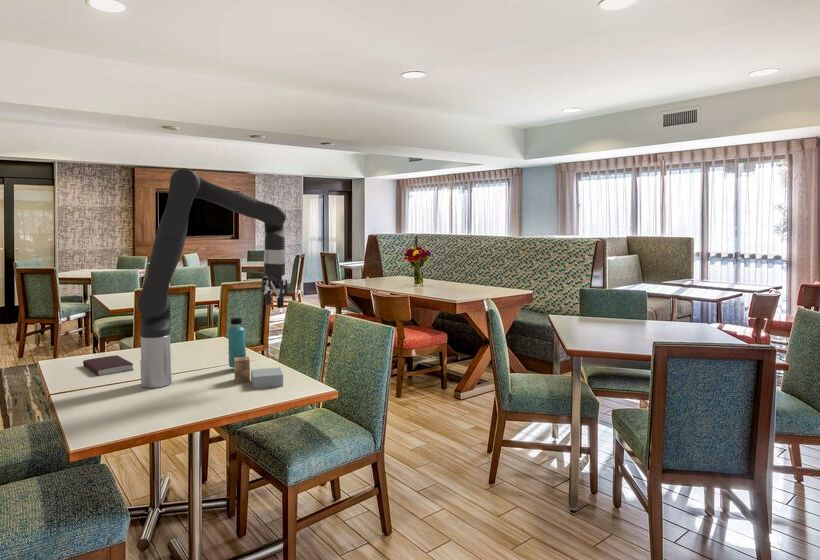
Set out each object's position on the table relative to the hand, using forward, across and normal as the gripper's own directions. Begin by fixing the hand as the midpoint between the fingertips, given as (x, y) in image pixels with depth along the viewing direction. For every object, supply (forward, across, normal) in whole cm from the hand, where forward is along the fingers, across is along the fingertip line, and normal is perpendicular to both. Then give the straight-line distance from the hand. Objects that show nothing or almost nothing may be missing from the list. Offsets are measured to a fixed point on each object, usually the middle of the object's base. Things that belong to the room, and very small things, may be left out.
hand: (274, 306), depth 198 cm
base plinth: (+26, +8, -7) cm, 28 cm away
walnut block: (+26, -1, -12) cm, 29 cm away
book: (+28, -50, -42) cm, 71 cm away
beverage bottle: (+26, -16, -6) cm, 31 cm away
